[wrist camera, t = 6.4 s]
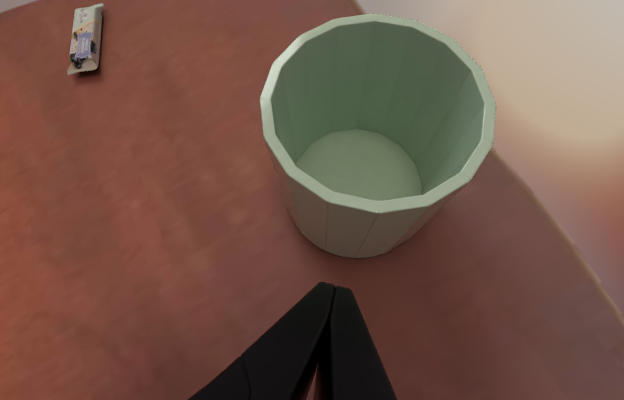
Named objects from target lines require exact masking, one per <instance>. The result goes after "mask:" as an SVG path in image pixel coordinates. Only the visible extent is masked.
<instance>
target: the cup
mask: <svg viewBox="0 0 624 400" xmlns="http://www.w3.org/2000/svg"><path fill="white" fill-rule="evenodd" d="M260 107H261V116H262V125H263V134H264V139H265V142H266V146H267V149H268V152H269V155H270V158H271V161H272V164H273V168H274V171H275V174H276V177H277V180H278V183H279V186H280V190H281V193H282V196H283V199H284V202H285V205H286V208H287V211H288V212H289V214H290V216H291V218H292V220H293V222H294V223H295V225H296V226H297V228H298V229H299V231H300V232H301V233H302V234H303V235H304V236H305V237H306V238H307V239H308V240H309V241H311V242H312V243H313V244H315V245H316V246H318V247H319V248H321V249H323V250H325V251H327V252H329V253H332V254H335V255H338V256H343V257H349V258H366V257H373V256H377V255H380V254H385V253H387V252H389V251H390V250H392V249H394V248H396V247H397V246H399V245H400V244H402V243H403V242H405V241H406V240H408V239H409V238H410V237H412V236H413V235H414V234H415V233H416V232H417V231H418V230H419V229H420V228H421V227H422V226H423V225H424V224H425V223H426V222H427V221H428V220H429V219H431V218H432V217H433V216H434V215H435V214H436V213H437V212H438V211H439V210H440V209H441V208H442V207H443V206H444V205H445V204H446V203H447V202H448V201H449V200H451V199H452V198H453V197H454V196H455V195H456V194H457V193H458V192H459V191H460V190H461V189H462V188H463V187H464V186H465V185H466V184H467V183H468V182H469V181H471V179H472V178H473V176H474V174H475V173H476V171H477V170H478V168H479V167H480V165H481V163H482V162H483V160H484V159H485V157H486V156H487V154H488V152H489V151H490V149H491V148H492V146H493V140H494V127H495V115H496V102H495V100H494V97H493V95H492V92H491V90H490V87H489V85H488V82H487V80H486V77H485V75H484V73H483V70H482V68H481V66H480V65H479V64H478V63H477V62H476V61H475V60H474V59H473V58H471V56H470V55H469V54H468V53H467V52H466V51H465V50H464V49H463V48H462V47H461V46H460V45H459V44H458V43H457V42H456V41H455V40H454V39H452V38H451V37H449V36H447V35H445V34H443V33H441V32H439V31H437V30H435V29H433V28H431V27H429V26H427V25H425V24H423V23H421V22H419V21H415V20H413V19H407V18H400V17H394V16H388V15H381V14H366V15H359V16H352V17H344V18H337V19H335V20H334V19H333V20H331V21H329V22H327V23H325V24H323V25H321V26H319V27H316V28H314V29H312V30H310V31H308V32H306V33H304V34H302V35H300V36H299V37H297V38H296V39H295V40H294V42H293V43H292V44H291V45H290V46H289V47H288V48H287V49H286V50H285V51H284V52H283V53H282V54H281V55H280V56H279V57H278V58H277V59H276V60H275V61H274V62H273V64H272V66H271V69H270V72H269V75H268V77H267V80H266V83H265V86H264V88H263V91H262V94H261V97H260Z"/></svg>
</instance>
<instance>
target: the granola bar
mask: <svg viewBox="0 0 624 400" xmlns="http://www.w3.org/2000/svg"><path fill="white" fill-rule="evenodd" d="M103 7H104V4H103V3H102V4H96V5H93V6H91V7H87V8H79V9H75V15H74V22H73V31H72V39H71V48H70V58H69V62H70V64H71V66H70V67H69V68H68V75H70V74H73V73H76V72H81V71H90V70H95V69H97V67H98V64H99V54H100V41H101V27H102V15H101V13H102V9H103Z"/></svg>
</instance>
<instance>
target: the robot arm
mask: <svg viewBox="0 0 624 400" xmlns="http://www.w3.org/2000/svg"><path fill="white" fill-rule="evenodd" d="M319 356H320V357H319ZM318 360H319V361H318ZM317 364H318V366H317ZM316 368H317V372H316ZM315 372H316V380H315V390H314V400H397V398H396V395H395V393H394V391H393V388H392V386H391V384H390V381H389V379H388V376H387V374H386V372H385V369H384V367H383V364H382V362H381V360H380V357H379V355H378V352H377V350H376V348H375V345H374V343H373V341H372V338H371V336H370V333H369V331H368V329H367V326H366V324H365V321H364V319H363V317H362V314H361V312H360V309H359V307H358V305H357V302H356V300H355V297H354V295H353V293H352V291H351V290H350V289H348V288H344V287H340V286H336V287H335V286H334V285H333V284H329V283H325V282H320V283H318V284H317V285H316V286H315V287H314V288H313V289H312V290H311V291H310V292H309V293H307V294H306V295H305V296H304V297H303V298H302V299H301V300H300V301H299V302H298V303H297V304H296V305H294V306H293V307H292V308H291V309H290V310H289V311H288V312H287V313H286V314H285V315H284V316H283V317H281V318H280V319H279V320H278V321H277V322H276V323H275V324H274V325H273V326H272V327H271V328H270V329H269V330H267V331H266V332H265V333H264V334H263V335H262V336H261V337H260V338H259V339H258V340H257V341H256V342H254V343H253V344H252V345H251V346H250V347H249V348H248V349H247V350H246V351H245V352H244V353H243V354H242V355H241V356H240V357H238V358H237V359H236V360H235V361H234V362H233V363H232V364H230V365H229V366H228V367H227V368H226V369H225V370H224V371H223V372H221V373H220V374H219V375H218V376H217V377H216V378H215V379H213V380H212V381H211V382H210V383H209V384H207V385H206V386H205V387H203V388H202V389H201V390H200V391H198V392H197V393H196V394H194V395H193V396H192V397H190V398H189V399H188V400H306V398H307V395H308V392H309V390H310V387H311V384H312V381H313V378H314V375H315Z"/></svg>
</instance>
